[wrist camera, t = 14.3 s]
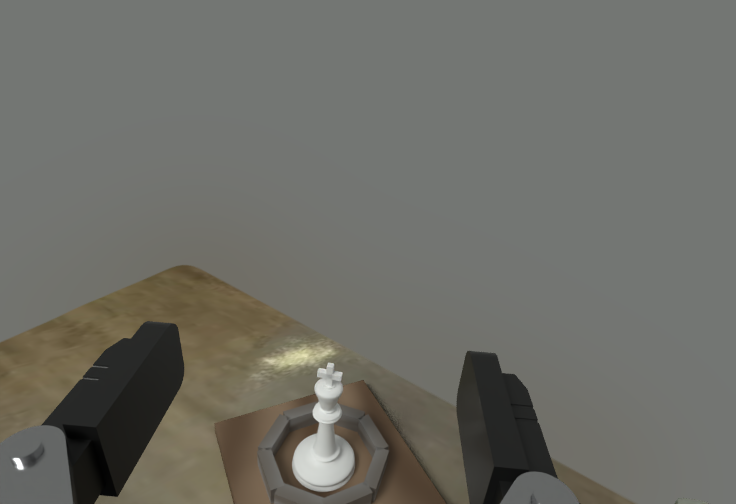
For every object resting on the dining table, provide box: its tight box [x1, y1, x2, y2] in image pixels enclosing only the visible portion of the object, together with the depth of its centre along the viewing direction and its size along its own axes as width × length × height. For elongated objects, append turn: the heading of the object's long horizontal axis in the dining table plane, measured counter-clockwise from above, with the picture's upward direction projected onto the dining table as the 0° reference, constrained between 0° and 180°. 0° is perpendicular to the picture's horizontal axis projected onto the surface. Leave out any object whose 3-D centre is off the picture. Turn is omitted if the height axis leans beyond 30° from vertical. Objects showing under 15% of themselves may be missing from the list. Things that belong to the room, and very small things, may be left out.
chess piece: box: [292, 363, 355, 492], centre depth 34 cm, size 5×5×10 cm
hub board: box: [214, 380, 446, 504], centre depth 36 cm, size 14×14×2 cm
